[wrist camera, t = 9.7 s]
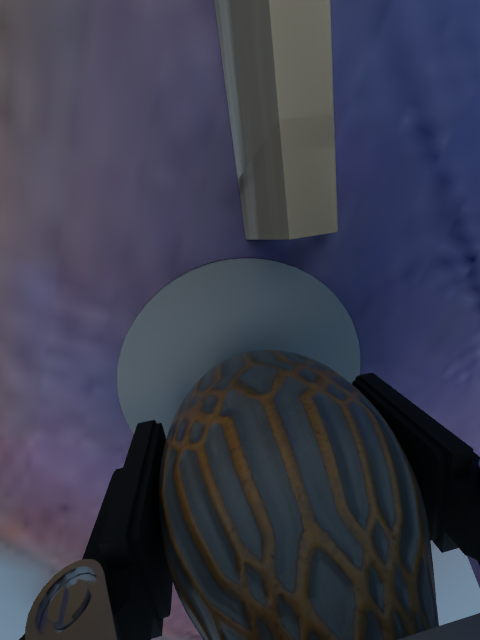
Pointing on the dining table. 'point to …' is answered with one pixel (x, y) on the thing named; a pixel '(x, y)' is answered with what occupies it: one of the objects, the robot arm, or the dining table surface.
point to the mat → (227, 331)
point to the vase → (292, 508)
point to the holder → (281, 114)
